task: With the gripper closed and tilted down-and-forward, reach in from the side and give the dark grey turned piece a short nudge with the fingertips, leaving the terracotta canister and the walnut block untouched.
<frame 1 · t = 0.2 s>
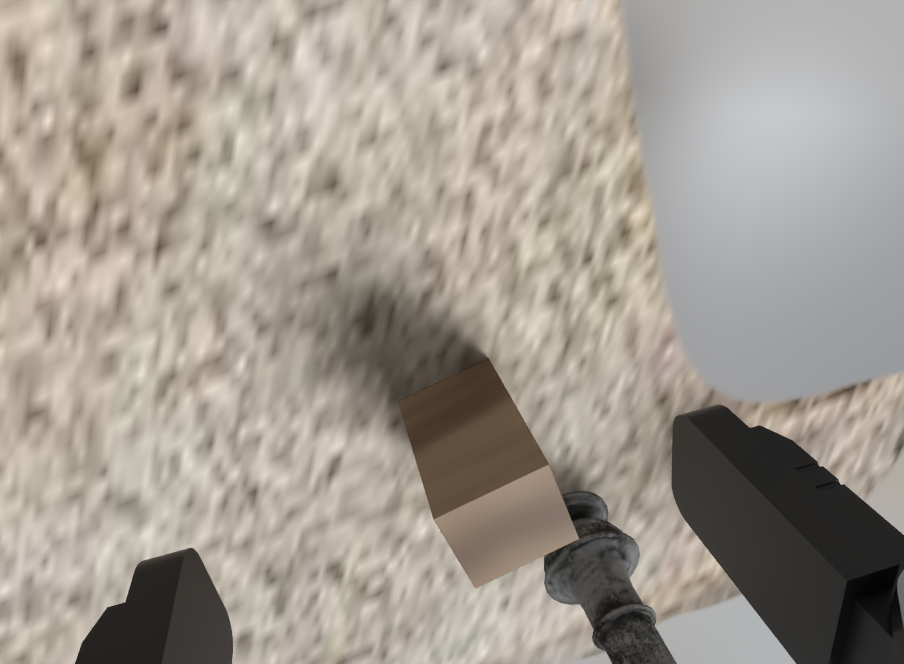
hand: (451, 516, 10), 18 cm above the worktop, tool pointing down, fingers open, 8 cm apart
walnut block: (460, 414, 32), on the worktop
dark grey turned piece: (566, 521, 39), on the worktop
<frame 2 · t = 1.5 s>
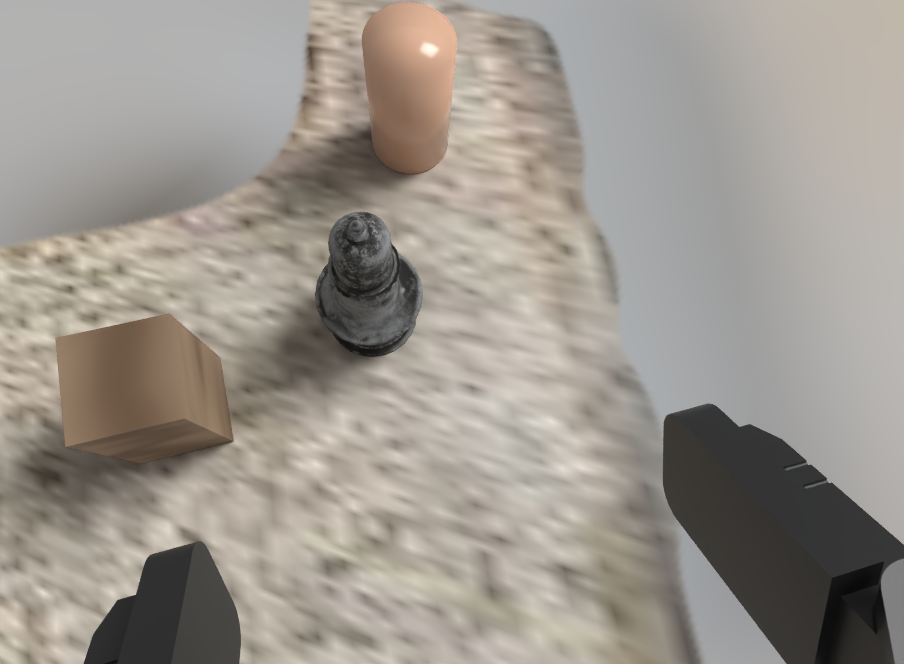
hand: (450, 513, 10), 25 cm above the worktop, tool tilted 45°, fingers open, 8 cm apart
terracotta canister: (410, 140, 41), on the worktop
walnut block: (182, 409, 35), on the worktop
dark grey turned piece: (373, 315, 38), on the worktop
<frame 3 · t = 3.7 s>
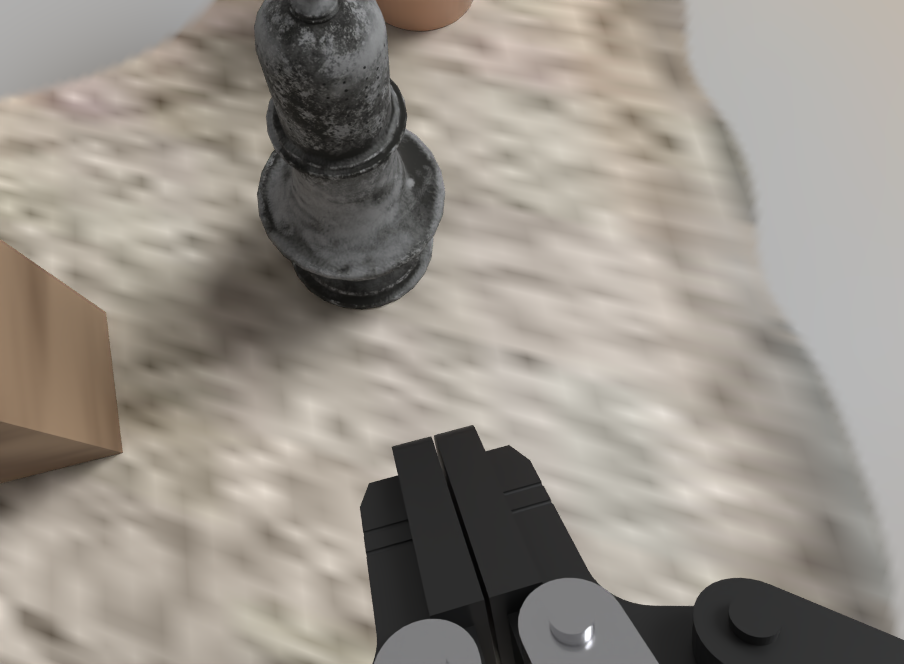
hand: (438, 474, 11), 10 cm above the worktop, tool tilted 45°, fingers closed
walnut block: (36, 398, 21), on the worktop
dark grey turned piece: (362, 243, 23), on the worktop
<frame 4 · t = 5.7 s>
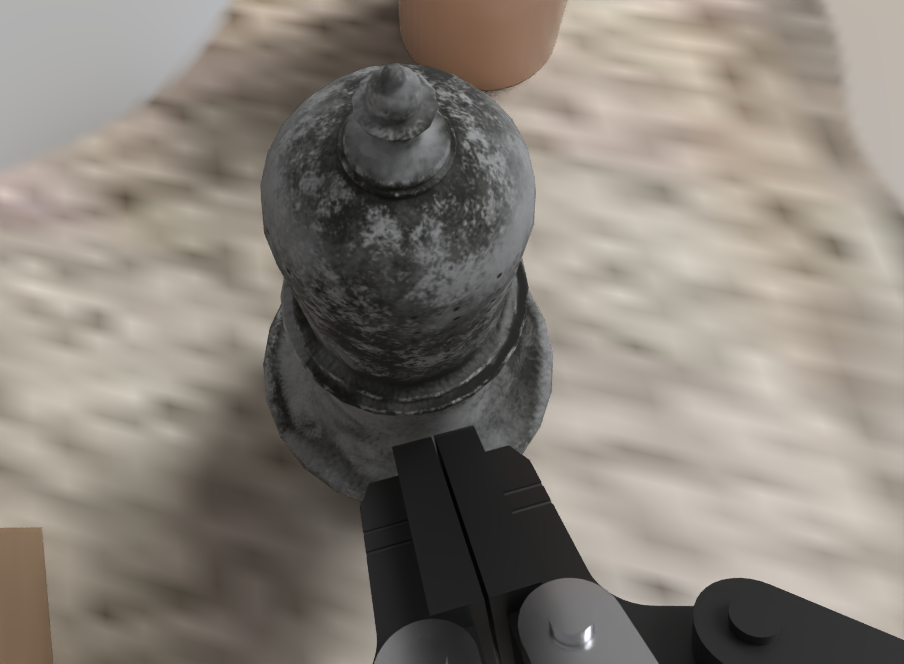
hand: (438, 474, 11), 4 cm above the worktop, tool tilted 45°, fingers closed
terracotta canister: (478, 24, 20), on the worktop
dark grey turned piece: (412, 395, 16), on the worktop, touching gripper
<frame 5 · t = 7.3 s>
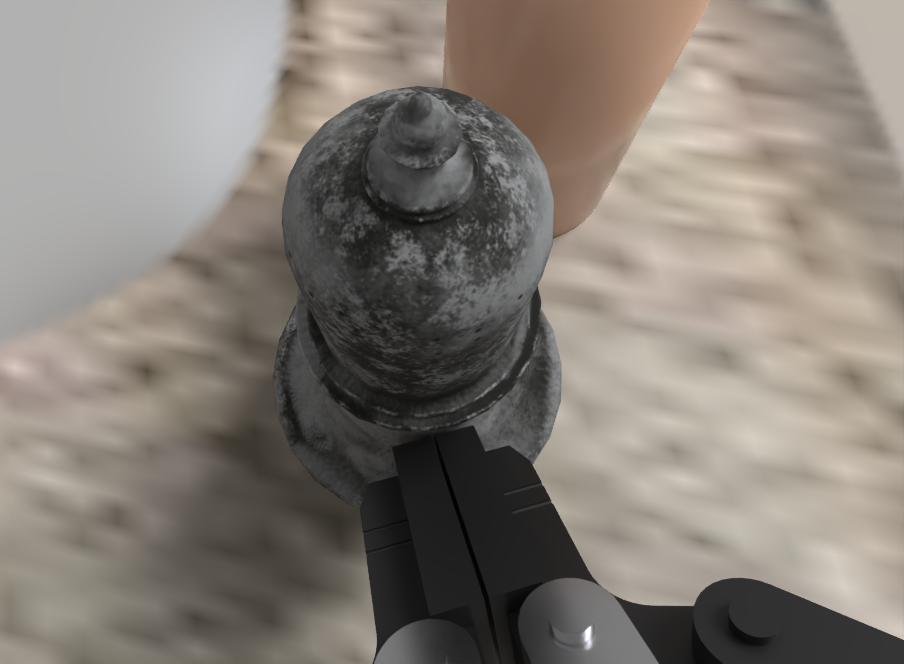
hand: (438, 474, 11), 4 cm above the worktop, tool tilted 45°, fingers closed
terracotta canister: (523, 163, 18), on the worktop
dark grey turned piece: (419, 405, 16), on the worktop, touching gripper
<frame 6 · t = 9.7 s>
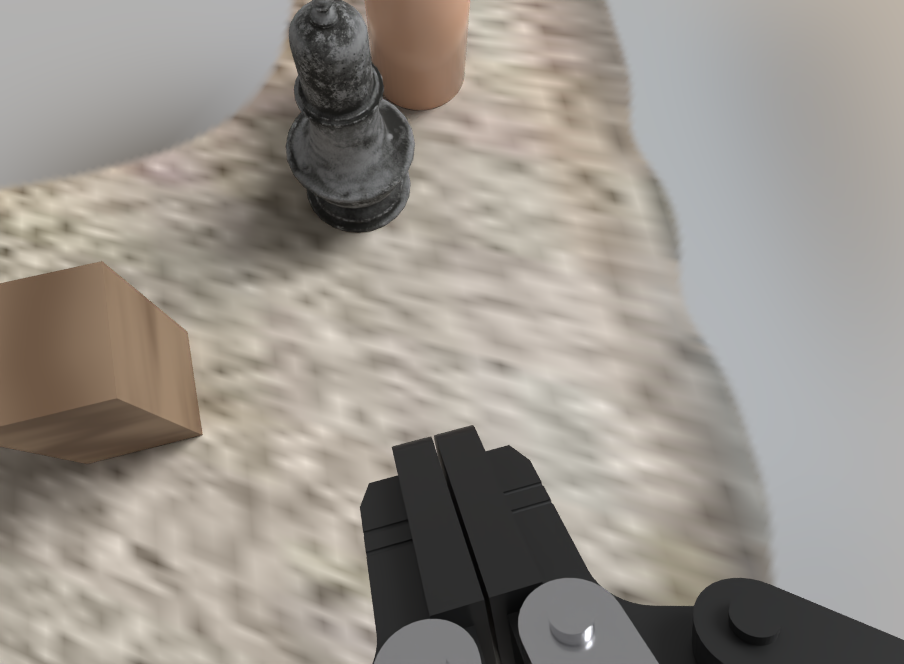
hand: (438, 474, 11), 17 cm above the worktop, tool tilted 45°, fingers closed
terracotta canister: (419, 71, 34), on the worktop
walnut block: (139, 395, 28), on the worktop
dark grey turned piece: (359, 187, 32), on the worktop
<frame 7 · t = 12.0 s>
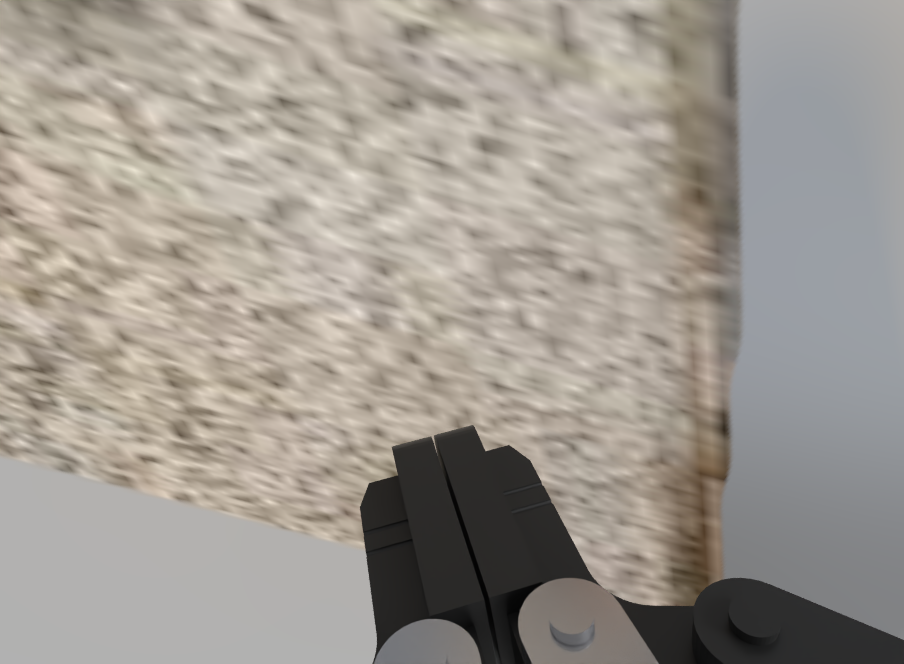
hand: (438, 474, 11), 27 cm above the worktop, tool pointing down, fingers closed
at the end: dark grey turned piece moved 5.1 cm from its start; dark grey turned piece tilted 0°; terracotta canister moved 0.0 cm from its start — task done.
